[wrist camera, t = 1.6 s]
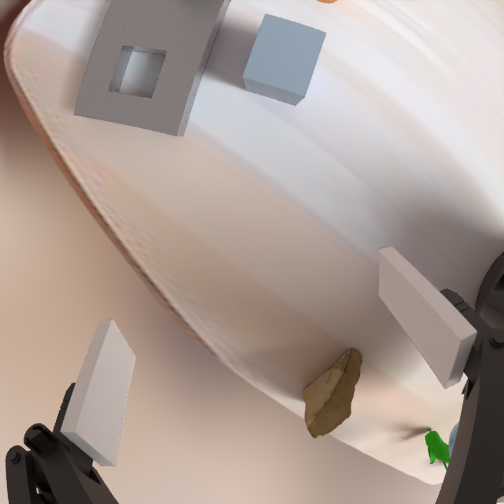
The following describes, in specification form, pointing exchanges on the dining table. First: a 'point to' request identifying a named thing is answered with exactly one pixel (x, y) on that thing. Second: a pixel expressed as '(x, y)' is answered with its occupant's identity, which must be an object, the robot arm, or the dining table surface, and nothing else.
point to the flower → (437, 448)
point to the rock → (332, 394)
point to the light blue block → (282, 59)
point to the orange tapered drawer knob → (327, 1)
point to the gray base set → (157, 42)
